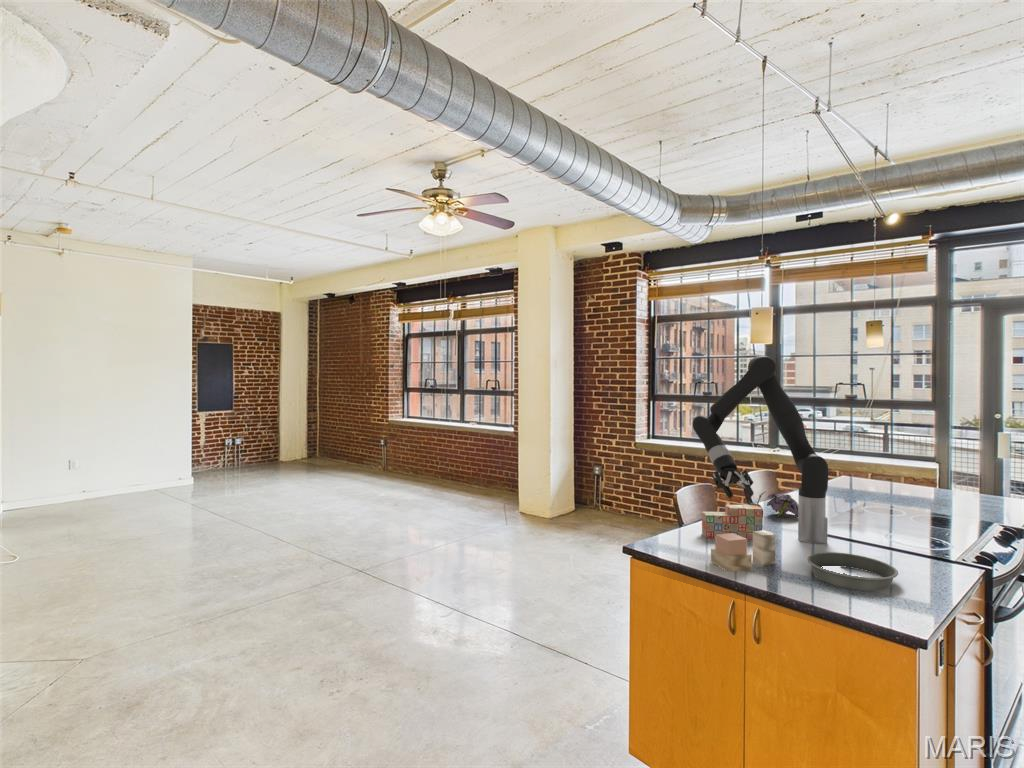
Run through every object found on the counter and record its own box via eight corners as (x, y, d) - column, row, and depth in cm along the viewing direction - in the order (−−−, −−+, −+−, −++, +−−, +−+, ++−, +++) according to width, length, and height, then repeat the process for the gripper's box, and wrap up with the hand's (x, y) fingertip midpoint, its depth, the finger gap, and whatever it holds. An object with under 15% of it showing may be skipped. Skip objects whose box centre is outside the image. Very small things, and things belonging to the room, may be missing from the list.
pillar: (764, 558, 195) (765, 530, 194) (775, 563, 190) (775, 534, 190) (752, 560, 193) (752, 531, 193) (762, 565, 189) (763, 535, 188)
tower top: (733, 547, 192) (733, 533, 192) (746, 554, 185) (747, 538, 185) (715, 549, 190) (715, 534, 190) (728, 555, 183) (728, 540, 183)
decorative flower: (811, 497, 247) (779, 488, 246) (808, 523, 244) (776, 514, 243) (791, 499, 261) (761, 490, 260) (788, 524, 258) (757, 515, 257)
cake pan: (900, 599, 160) (900, 584, 160) (803, 582, 173) (803, 568, 173) (896, 573, 181) (896, 559, 181) (809, 560, 194) (810, 547, 194)
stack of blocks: (705, 538, 219) (705, 507, 219) (701, 534, 225) (701, 503, 225) (762, 540, 217) (762, 508, 217) (756, 535, 223) (757, 504, 223)
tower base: (733, 561, 193) (733, 546, 193) (751, 569, 185) (751, 554, 184) (710, 563, 191) (711, 548, 191) (727, 572, 182) (728, 557, 182)
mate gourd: (744, 520, 245) (744, 486, 245) (764, 522, 243) (764, 487, 242) (746, 525, 238) (746, 490, 238) (766, 526, 236) (766, 491, 235)
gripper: (710, 454, 209) (729, 491, 198) (742, 453, 213) (763, 489, 202) (701, 466, 214) (719, 503, 203) (733, 465, 218) (752, 501, 207)
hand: (741, 496), depth 202 cm, fingers open, 8 cm apart
